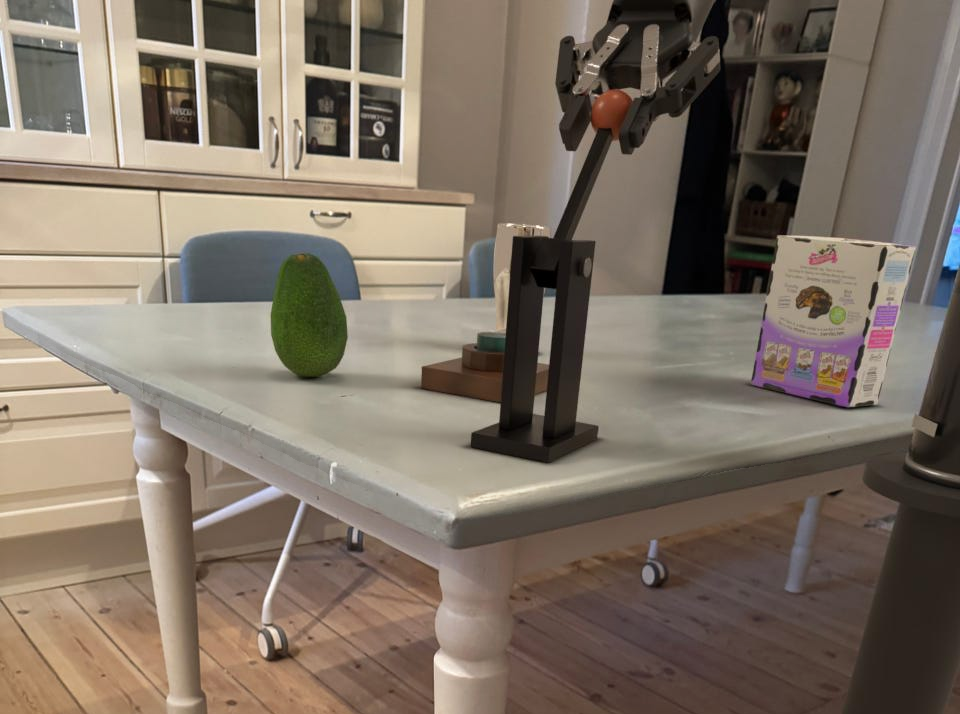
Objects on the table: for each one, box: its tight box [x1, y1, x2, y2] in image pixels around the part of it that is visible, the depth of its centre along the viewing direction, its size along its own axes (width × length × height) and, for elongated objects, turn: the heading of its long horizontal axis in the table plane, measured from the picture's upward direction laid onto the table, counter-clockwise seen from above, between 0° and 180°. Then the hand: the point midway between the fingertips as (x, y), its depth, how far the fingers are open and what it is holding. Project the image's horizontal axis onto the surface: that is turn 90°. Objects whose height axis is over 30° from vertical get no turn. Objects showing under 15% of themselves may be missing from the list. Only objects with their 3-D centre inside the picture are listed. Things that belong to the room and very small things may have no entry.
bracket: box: [470, 235, 600, 464], centre depth 74 cm, size 10×7×16 cm
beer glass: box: [492, 222, 552, 334], centre depth 117 cm, size 7×7×15 cm
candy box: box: [750, 234, 917, 408], centre depth 102 cm, size 14×6×16 cm, turn 35°
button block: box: [420, 342, 549, 404], centre depth 97 cm, size 10×12×4 cm
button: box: [476, 331, 506, 352], centre depth 96 cm, size 4×4×2 cm
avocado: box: [270, 252, 349, 379], centre depth 94 cm, size 8×8×12 cm
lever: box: [530, 89, 634, 290], centre depth 73 cm, size 17×4×4 cm
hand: (596, 143), depth 73 cm, fingers open, 4 cm apart
